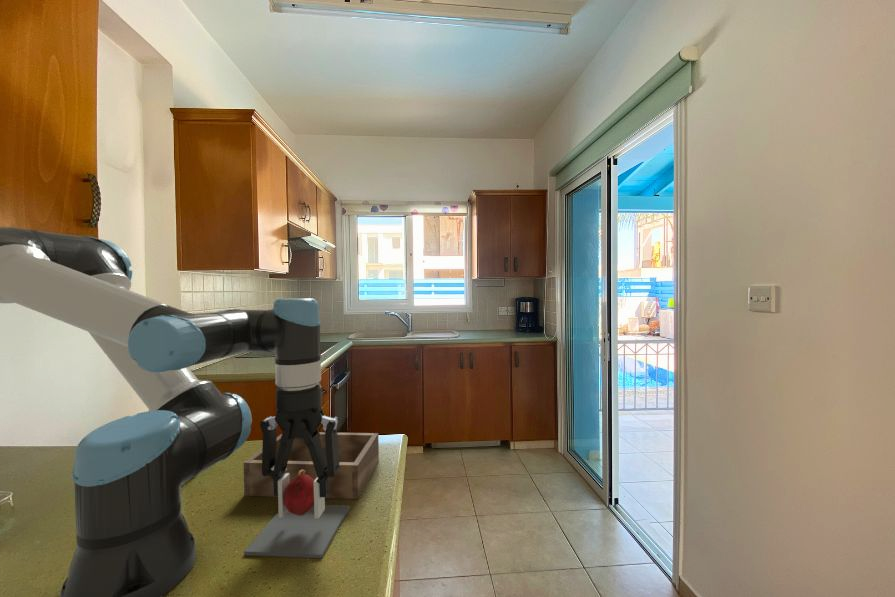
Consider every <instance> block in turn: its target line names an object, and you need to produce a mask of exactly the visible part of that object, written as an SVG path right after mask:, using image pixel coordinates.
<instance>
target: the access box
mask: <svg viewBox="0 0 895 597" xmlns="http://www.w3.org/2000/svg"><path fill="white" fill-rule="evenodd" d="M325 432H326V431H325ZM325 432H321V431H319V433H320V441H321V444H322V447H323V450H324V453H325V457H326V445H325ZM281 436H282V433H281V434H279V435H278V436H277V441H276V459H277V455H278V451H279V448H280V444H281V443H280V440H281ZM337 441H338V454H339V470H338V471H337V473H336V474H335V475H334V477H329V492H328V494H327V495H326V497H325V499H347V500H349V499H351V500H359V498H360V497H361V495H362V493H363V491H364V489H365V488H366V485H367V484H368V482H369V480H370V478H371V477H372V475H373V472H374V470H375V469H376V466H377V465H378V463H379V460H380V457H379V454H380V452H379V451H380V450H379V448H380V447H379V433H378V432H375V433H374V432H371V433H370V432H337ZM326 460H327V458H326ZM286 469H287V470H286V471H285V472H284V474H285V473H290V481H291V480H292V479H294V478H295V477H296V476H297V474H298V473H299V471H300V470H302V469H303V470H305V471H306V473H305V474H306V475H309V476H310V477H312V478H313V479H314V480H315V479H316V478H317V474H316V471H315V468H314V465H313V461H312V458H311V455H310V452H309V449H308V446H307V445H306V444H305V442H304V439H301V438H294V441H293V445H292V448H291V452H290V456H289V459H288V463H287V467H286ZM243 492H244V494H243V495H244V496H248V497H250V496H251V497H277V498H278V496H275V495H274V483H273V479H272V477H271V476H268V475H267V476H263V475H262V448H261V449H259V450H258V451H257V452H255V453H254V454H253V455H252V456H250V457H249V458H248V459H247V460H245V461H244V462H243Z"/></svg>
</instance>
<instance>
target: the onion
mask: <svg viewBox="0 0 895 597" xmlns="http://www.w3.org/2000/svg"><path fill="white" fill-rule="evenodd" d="M305 473H306V471H305V470H303V469H302V470H300V471H299V473H298V474H297V476H296V477H295V478H294V479H292V480H291V481H290V483H289V484H288V485H287V487H286V489H285V493H284V499H283V500H284V505H285V506H286V508H287V510H288V511H289V512H291V513H293V514H295V515H300V516H302V515H304V514H305V513H306V512H308V511H309V510H310V509H311V508H312V507H313V506H314V481H315V480H314V479H313V478H312V477H310V476H309V475H306V474H305Z"/></svg>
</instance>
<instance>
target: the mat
mask: <svg viewBox="0 0 895 597" xmlns="http://www.w3.org/2000/svg"><path fill="white" fill-rule="evenodd" d="M349 510H350V505H341V504H340V505H337V504H335V505H334V504H325V510H324V511H323V513H322V514H321V516H320V517H319V519H318V518H314V506H313V507H312V508H311V509H310V510H309V511H308V512H306V513H305V514H304V515H302V516H300V515H295V514H293V513H291V512H289V511H288V512H287V513H286V514H285V515H284V517H283V518H282V517H279V511H277V513H275V515H274V516H273V517H272V518H271V520H270V521H269V522H268V523H267V524H266V525H265V526H264V528H263V529H262V530H261V531H260V532H259V533H258V535H257V536H256V537H255V538H254V539H253V540H252V541H251V543H250V544H249V545H248V546H247V547H246V549H245V550H244V551H243V555H244V556H257V557H259V556H260V557H278V558H279V557H282V558H284V557H285V558H286V557H287V558H305V559H306V558H310V559H322V558H323V557H324V555H325V554H326V552H327V550H328V548H329V546H330V545H331V543H332V541H333V539H334V537H335V535H336V534H337V532H338V530H339V528H340V526H341V524H342V523H343V521H344V519H345V518H346V516H347V514H348V513H349Z"/></svg>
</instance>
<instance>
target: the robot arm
mask: <svg viewBox="0 0 895 597" xmlns="http://www.w3.org/2000/svg"><path fill="white" fill-rule="evenodd" d="M131 267H132V262H131V260H130V257H129V256H128V254H127V253H126V252H125V250H123V248H121V247H120V246H119V245H117V244H115V243H114V242H112V241H110V240H105V239H101V238H97V237H94V236H91V235H90V236H89V235H80V234H79V235H74V234H73V235H71V234H65V233H58V232H52V231H50V232H49V231H44V230H43V231H42V230H35V229H28V228H27V229H26V228H22V227H14V226H0V304H17V305H20V306H22V307H24V308H27V309H30V310H32V311H35V312H36V313H37V312H38V313H41V314H42V315H45V316H46V317H47V316H48V317H50V318H53V319H55V320H57V321H60V322H63V323H65V324H68V325H70V326H72V327H75V328H78V329H81V330H83V331H86V332H88V333H89V335H90V336H91V337H92V339H93V340H94V341H95V343H96V344H97V345H98V346H99V347H100V349H101V350H102V352H104V354H105V355H106V356H107V358H108V359H109V360H110V361H111V363H112V364H113V365H114V367H115V368H116V369H117V371H118V372H119V373H120V374H121V376H122V377H123V378H124V380H125V381H126V382H127V383H128V385H129V386H130V387H131V389H132V390H133V391H134V392H135V394H136V395H137V396H138V397H139V399H140V400H141V401H142V403H143V404H144V405H145V406H146V408H148V411H142V412H138V413H136V414H133V415H127V416H126V415H125V416H124V417H123V416H122V417H120V418H118V419H115V420H112V421H110V422H108V423H105V424H103V425H101V426H99V427H97V428H96V429H93V430H92V431H91V432H90V431H89V433H88V434H86V435H85V436H84V437H83V438H82V439H81V440H80V442H78V444H77V446H76V448H75V451H74V463H73V469H72V472H71V478H72V480H73V482H74V500H75V501H74V505H75V532H76V533H75V534H76V535H75V536H76V538H75V539H76V548H75V551H74V553H73V556H72V560H71V562H70V565H69V566H70V567H69V570H68V575H67V577H66V579H65V580H64V582H63V583H62V586H61V589H60V591H59V597H163V596H164V595H165V594H166V593H168V592H170V591H171V590H172V589H173V588H175V587H176V586H177V585H178V584H179V583H180V582H181V581H183V579H185V577H186V576H187V575H188V574H189V572H190V571H191V569H193V566H194V565H195V561H196V558H197V550H196V548H197V547H196V539H195V537H194V535H193V534H192V533H191V531H190V529H189V526H188V523H187V520H186V519H185V516H184V514H183V512H182V502H181V500H182V499H181V498H182V496H181V495H182V494H181V493H182V492H181V487H182V486H183V485H184V484H185V483H187V482H189V481H190V480H193V479H194V478H195V477H197V476H199V475H200V474H202V473H203V472H205V471H206V470H208V469H210V468H212V467H213V466H214V465H216V464H218V463H219V462H221V461H224V460H226V459H228V458H229V457H230V456H231V455H232V454H234V453H235V452H236V451H238V450H239V449H241V447H243V445H244V444H245V443H246V441H247V440H248V438H249V436H250V434H251V431H252V430H251V429H252V428H251V426H252V422H253V420H252V418H253V417H252V413H251V412H252V411H251V409H250V406H249V405H248V403H247V402H246V401H245V399H244V398H243V397H241V396H240V395H238V394H236V393H231V392H223V393H222V392H221V391H220V390H219V389H218V388H217V386H216V385H215V384H214V383H213V382H212V381H211V380H200V379H199V378H197V376H196V375H195V374H194V373H193V371H192V370H191V369H190V368H189V367H193V366H196V365H199V364H203V363H206V362H211V361H215V360H219V359H222V358H227V357H231V356H235V355H239V354H244V353H249V352H252V353H253V352H254V353H255V352H259V353H260V352H267V353H268V352H269V353H270V352H271V353H272V352H274V365H275V366H274V369H275V371H274V372H275V373H274V374H275V376H274V377H275V381H274V384H275V386H277V388H276V389H275V406H276V410H277V412H276V414H275V416H271V415H269V416H268V417H266V418H265V419H263V420H261V421H260V422H259V426H260V430H261V433H262V448H261V449H262V475H263V476H267V475H268V476H271V477H272V479H273V483H274V495H275V496H278V497H277V498H278V499H277V503H278V504H277V507H278V512H279V517H282V518H283V517H284V515H285V514H286V513H287V512H288V510H287V508H286V506H285V505H284V500H283V499H284V493H285V489H286V487H287V485H288V484H289V483H290V473H285V474H284V472H285V471H286V470H287V469H286V467H287V463H288V459H289V456H290V452H291V448H292V445H293V441H294V438H301V439H304V442H305V444H306V445H307V446H308V449H309V452H310V455H311V458H312V461H313V465H314V468H315V471H316V474H317V478H316V479H315V481H314V518H318V519H319V517H320V516H321V514H322V513H323V511H324V510H325V505H326V501H325V500H326V498H325V497H326V495H327V494H328V492H329V477H334V475H335V474H336V473H337V471H338V470H339V454H338V441H337V433H338V432H337V431H338V430H337V429H338V426H339V422H340V418H339V417H338V416H334V417H330V416H326V415H325V413H324V410H323V408H322V403H323V400H322V399H323V396H322V395H323V394H322V385H321V383H320V382H321V380H322V364H321V363H322V362H321V361H322V359H321V324H322V321H321V317H320V316H321V315H320V307H319V306H320V305H319V302H318V301H317V300H316V299H315V298H312V297H311V298H309V297H307V298H306V297H305V298H304V297H303V298H302V297H301V298H276V299H275V300H274V302H273V305H272V306H273V307H272V309H239V308H238V309H236V308H234V309H224V310H219V311H216V312H203V313H192V312H187V311H184V310H181V309H180V308H176V307H173V306H171V305H168V304H167V303H163V302H161V301H158V300H157V299H156V300H155V299H153V298H150V297H148V296H145V295H142V294H139V293H137V292H135V291H131V290H130V289H131V287H132V277H133V270H131V269H130V268H131ZM321 424H322V426H323V427H322V428H323V431H325V445H326V457H325V453H324V450H323V447H322V444H321V441H320V433H319V432H320V430H319V426H320V425H321ZM277 427H279V428H280V429H281V432H282V433H281V434H282V436H281V440H280V443H281V444H280V448H279V451H278V455H277V459H276V441H277V437H278V436H277V435H278V433H277V432H278V430H277ZM326 458H327V460H326ZM275 496H274V497H275Z"/></svg>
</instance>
